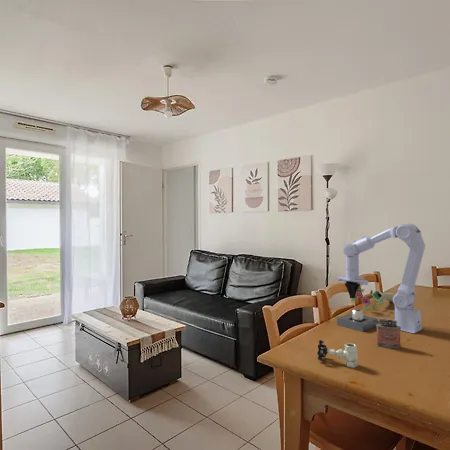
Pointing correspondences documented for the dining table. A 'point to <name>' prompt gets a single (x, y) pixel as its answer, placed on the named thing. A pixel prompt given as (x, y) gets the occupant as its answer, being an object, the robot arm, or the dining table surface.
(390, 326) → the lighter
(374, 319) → the block
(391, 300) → the flower vase
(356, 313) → the bushing
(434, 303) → the dining table surface
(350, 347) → the valve
